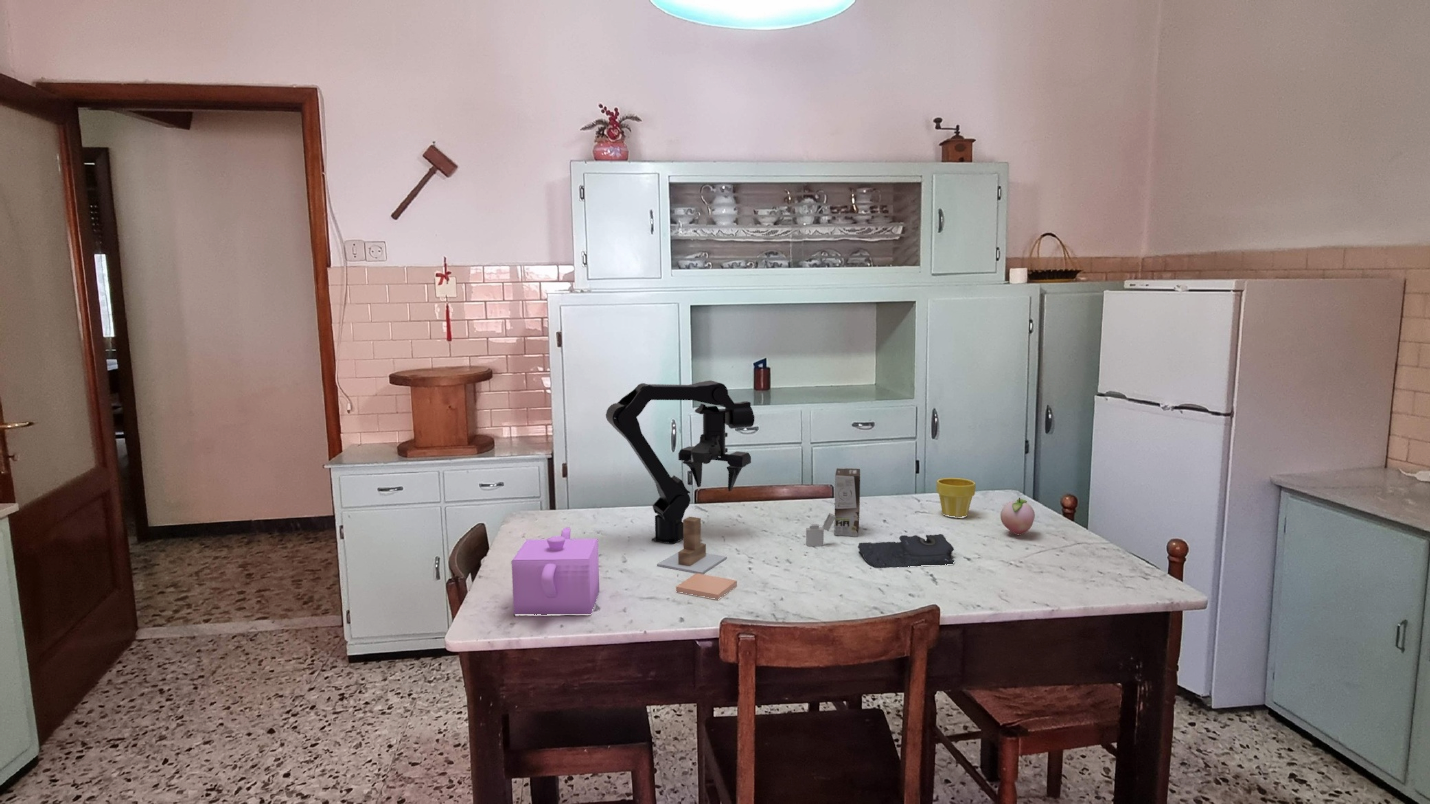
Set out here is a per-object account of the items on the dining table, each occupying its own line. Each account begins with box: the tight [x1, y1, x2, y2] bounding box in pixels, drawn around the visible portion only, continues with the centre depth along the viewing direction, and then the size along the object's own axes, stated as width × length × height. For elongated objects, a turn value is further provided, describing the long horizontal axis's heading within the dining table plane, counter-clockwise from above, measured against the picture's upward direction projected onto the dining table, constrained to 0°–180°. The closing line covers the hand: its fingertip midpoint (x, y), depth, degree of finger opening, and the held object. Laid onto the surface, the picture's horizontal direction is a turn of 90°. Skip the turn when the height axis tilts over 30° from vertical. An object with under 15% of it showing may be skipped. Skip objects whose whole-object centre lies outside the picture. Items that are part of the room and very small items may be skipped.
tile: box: [675, 573, 738, 600], centre depth 172 cm, size 10×2×9 cm
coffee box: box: [833, 467, 861, 538], centre depth 211 cm, size 9×6×16 cm
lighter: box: [805, 512, 836, 547], centre depth 201 cm, size 7×2×8 cm, turn 95°
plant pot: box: [936, 477, 976, 517], centre depth 226 cm, size 10×10×10 cm
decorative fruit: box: [1000, 497, 1036, 536], centre depth 207 cm, size 9×8×10 cm
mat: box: [656, 551, 728, 575], centre depth 189 cm, size 12×12×1 cm
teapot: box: [511, 526, 600, 615], centre depth 165 cm, size 15×25×14 cm, turn 1°
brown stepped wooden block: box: [678, 516, 707, 566], centre depth 188 cm, size 3×8×10 cm, turn 153°
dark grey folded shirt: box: [857, 533, 955, 569], centre depth 192 cm, size 15×22×5 cm
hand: (714, 488), depth 209 cm, fingers open, 9 cm apart
